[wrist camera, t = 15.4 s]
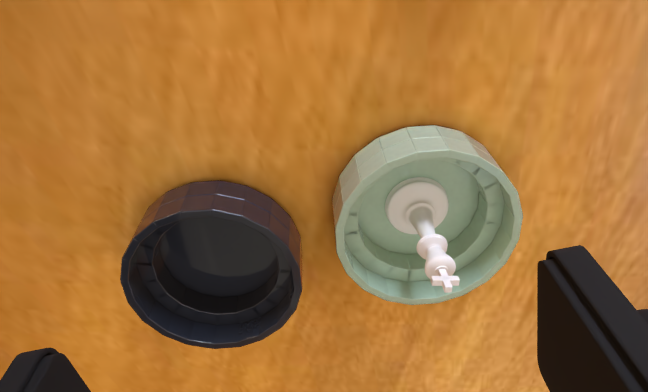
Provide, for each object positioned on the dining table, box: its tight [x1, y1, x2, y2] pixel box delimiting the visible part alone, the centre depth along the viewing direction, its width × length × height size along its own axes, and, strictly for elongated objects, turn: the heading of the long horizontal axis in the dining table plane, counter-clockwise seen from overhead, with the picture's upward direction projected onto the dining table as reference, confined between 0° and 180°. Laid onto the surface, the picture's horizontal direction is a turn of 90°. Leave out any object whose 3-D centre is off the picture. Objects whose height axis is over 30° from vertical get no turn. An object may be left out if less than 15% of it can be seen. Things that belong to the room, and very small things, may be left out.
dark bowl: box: [120, 180, 302, 349], centre depth 39 cm, size 13×13×4 cm
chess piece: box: [385, 177, 460, 293], centre depth 35 cm, size 5×5×10 cm
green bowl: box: [332, 125, 523, 305], centre depth 37 cm, size 13×13×4 cm
